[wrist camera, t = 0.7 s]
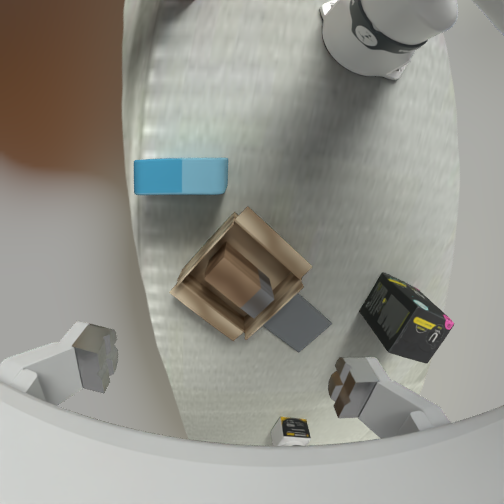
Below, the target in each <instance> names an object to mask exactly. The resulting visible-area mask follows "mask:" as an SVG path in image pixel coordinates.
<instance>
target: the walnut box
mask: <svg viewBox="0 0 504 504" xmlns="http://www.w3.org/2000/svg"><path fill="white" fill-rule="evenodd" d="M204 279H205V280H206V281H207V282H208V283H210V284H211V285H212V286H213V287H214V288H216V289H217V290H218V291H219V292H221V293H222V294H223V295H224V296H226V297H227V298H228V299H229V300H231V301H232V302H233V303H235V304H236V305H237V306H238V307H240V308H241V309H242V310H243V311H245V312H246V313H247V314H249V315H250V316H251V317H252V318H255V317H256V316H257V315H258V314H260V313H261V312H262V311H263V310H264V309H265V308H266V307H267V306H268V305H269V304H270V303H271V302H272V301H273V300H274V295H273V291H272V287H271V283H270V279H269V278H268V277H267V276H266V275H265V274H264V273H263V272H261V271H260V270H259V269H258V268H257V267H256V266H254V265H253V264H252V263H251V262H250V261H249V260H247V259H246V258H245V257H244V256H243V255H242V254H241V253H239V252H238V251H237V250H236V249H235V248H234V247H232V246H231V245H230V244H229V243H228V242H227V241H226V242H225V243H224V244H223V245H222V247H221V248H220V249H219V250H218V251H217V252H216V253H215V254H214V255H213V256H212V257H211V258H210V259H209V262H208V265H207V269H206V272H205V276H204Z"/></svg>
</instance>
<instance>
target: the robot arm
mask: <svg viewBox="0 0 504 504" xmlns="http://www.w3.org/2000/svg"><path fill="white" fill-rule="evenodd" d="M472 1H473V2H474V3H475V4H476V6H478V8H479V9H480V10H481V11H482V12H483V13H484V15H485V16H486V17H487V18H488V19H489V20H490V22H491V23H492V24H493V25H494V26H495V28H497V30H499V31H500V32H501V33H502V34H503V35H504V0H472ZM330 6H332V7H330ZM320 12H321V15H322V18H323V30H322V33H323V39H324V43H325V45H326V47H327V49H328V51H329V52H330V54H331V55H332V56H333V57H334V59H335V60H336V61H337V62H339V63H340V64H341V65H342V66H344V67H345V68H347V69H348V70H350V71H352V72H354V73H357V74H360V75H365V76H383V77H385V78H388V79H390V80H397V79H398V78H399V77H400V76H401V74H402V73H403V71H404V69H405V68H406V66H407V64H408V63H409V62H410V61H411V57H412V56H413V54H414V52H415V50H417V49H418V48H420V47H421V46H422V45H424V44H425V43H426V42H427V40H428V39H430V38H432V37H434V36H436V35H438V34H440V33H443V32H445V31H447V30H448V29H450V28H451V27H452V26H453V25H454V24H455V22H456V20H457V17H458V6H457V0H332V1H330V2H327V3H325V4H323V5H322V6H321V7H320ZM396 70H397V71H396ZM116 340H117V336H116V331H115V330H114V329H109V328H105V327H102V326H98V325H94V324H90V323H86V322H82V321H77V322H76V323H75V324H74V325H73V326H72V327H71V328H70V330H69V331H68V332H67V333H66V334H65V336H64V337H63V338H62V339H61V340H60V341H59V343H57V342H53V343H50V344H47V345H44V346H41V347H38V348H35V349H33V350H29V351H26V352H24V353H20V354H18V355H15V356H12V357H9V358H5V360H4V361H3V362H2V363H1V364H0V504H504V405H503V406H500V407H498V408H495V409H493V410H490V411H487V412H484V413H482V414H479V415H476V416H473V417H470V418H467V419H463V420H460V421H457V422H454V423H451V422H450V420H449V419H448V418H447V416H446V415H445V413H444V412H443V410H442V409H441V407H440V406H438V405H437V404H435V403H433V402H431V401H429V400H428V399H426V398H424V397H422V396H420V395H419V394H417V393H415V392H413V391H412V390H410V389H408V388H406V387H405V386H403V385H401V384H399V383H398V382H396V381H392V380H391V379H390V377H389V376H388V374H387V373H386V371H385V370H384V368H383V367H382V365H381V364H380V362H379V361H378V359H377V358H375V357H339V359H338V360H337V362H336V364H335V367H336V370H337V371H335V372H334V373H333V374H332V375H331V377H330V380H329V385H328V391H329V395H330V398H331V399H333V400H334V401H335V404H334V409H335V411H336V414H337V416H338V418H356V417H359V418H358V419H359V420H361V421H362V422H363V423H364V424H365V425H366V426H367V427H368V428H370V429H371V430H372V431H373V432H374V433H375V434H376V435H377V436H379V437H380V438H381V439H374V440H367V441H359V442H351V443H341V444H328V445H309V446H258V445H239V444H226V443H215V442H206V441H198V440H190V439H183V438H177V437H171V436H165V435H160V434H154V433H149V432H144V431H139V430H136V429H132V428H127V427H123V426H119V425H116V424H112V423H108V422H105V421H101V420H98V419H94V418H91V417H88V416H85V415H82V414H79V413H76V412H73V411H70V410H67V409H64V408H62V407H59V406H57V405H59V404H60V403H62V402H63V401H65V400H67V399H68V398H70V397H71V396H73V395H74V394H76V393H78V392H79V391H81V390H82V389H83V388H85V389H89V390H93V391H96V392H101V393H105V391H106V389H107V387H108V385H109V383H110V378H109V376H110V375H112V374H114V372H115V370H116V368H117V363H118V350H117V348H116V347H115V345H114V344H115V342H116Z"/></svg>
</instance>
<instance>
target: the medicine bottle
mask: <svg viewBox="0 0 504 504" xmlns="http://www.w3.org/2000/svg"><path fill="white" fill-rule="evenodd" d="M271 437H272V446H306V445H307V444H308V442H309V441H310V440H311V437H310V433H309V429H308V425H307V421H306V419H301V418H291V417H283V416H281V417H280V418H279V420H278V421H277V423H276V424H275V426H274V428H273V429H272V431H271Z"/></svg>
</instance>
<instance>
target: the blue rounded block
mask: <svg viewBox="0 0 504 504" xmlns="http://www.w3.org/2000/svg"><path fill="white" fill-rule="evenodd" d="M227 184H228V158H166V159H146V160H135V161H134V193H135V194H136V195H218V194H223V193H224V192H225V190H226V188H227Z"/></svg>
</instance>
